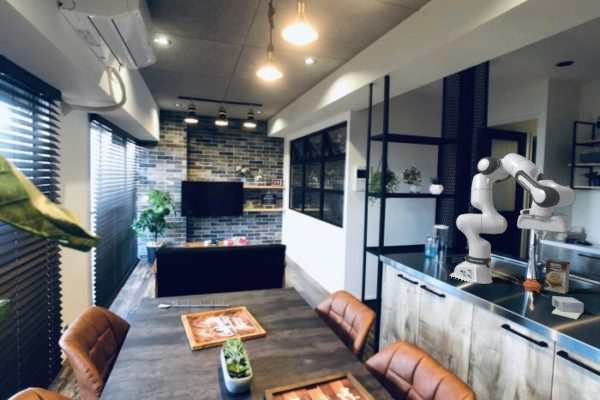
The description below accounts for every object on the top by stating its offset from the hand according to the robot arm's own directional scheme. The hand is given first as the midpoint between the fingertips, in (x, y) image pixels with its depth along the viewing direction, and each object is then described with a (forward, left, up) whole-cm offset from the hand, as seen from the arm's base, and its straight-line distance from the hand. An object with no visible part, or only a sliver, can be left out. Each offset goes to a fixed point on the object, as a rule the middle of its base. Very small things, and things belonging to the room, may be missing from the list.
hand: (540, 239), depth 167 cm
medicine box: (+11, -16, -26) cm, 32 cm away
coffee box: (+4, +18, -29) cm, 35 cm away
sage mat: (+15, -17, -29) cm, 37 cm away
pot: (-4, +6, -29) cm, 30 cm away
